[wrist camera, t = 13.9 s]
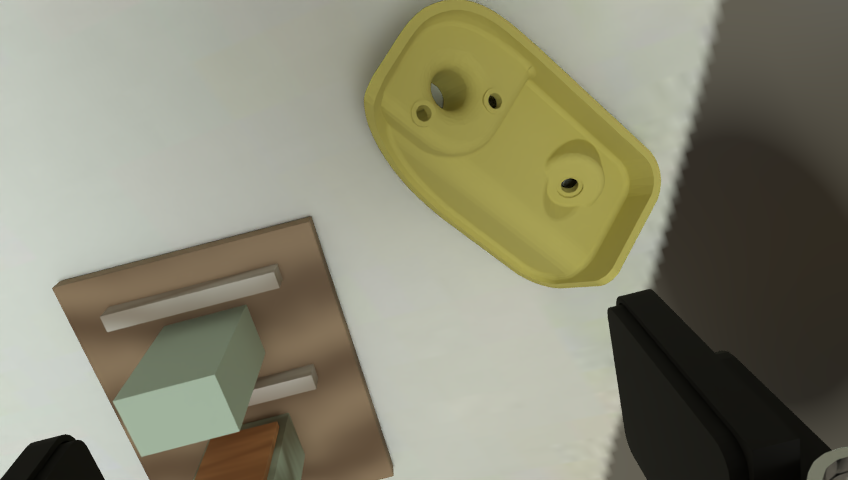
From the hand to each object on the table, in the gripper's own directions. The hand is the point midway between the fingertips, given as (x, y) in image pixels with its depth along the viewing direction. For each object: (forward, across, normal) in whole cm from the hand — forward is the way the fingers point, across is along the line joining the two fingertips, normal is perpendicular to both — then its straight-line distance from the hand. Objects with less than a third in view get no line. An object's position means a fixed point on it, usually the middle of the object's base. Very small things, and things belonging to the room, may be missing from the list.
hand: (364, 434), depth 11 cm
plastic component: (+33, -8, +3) cm, 34 cm away
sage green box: (+31, +15, +12) cm, 36 cm away
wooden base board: (+32, +15, +16) cm, 39 cm away
